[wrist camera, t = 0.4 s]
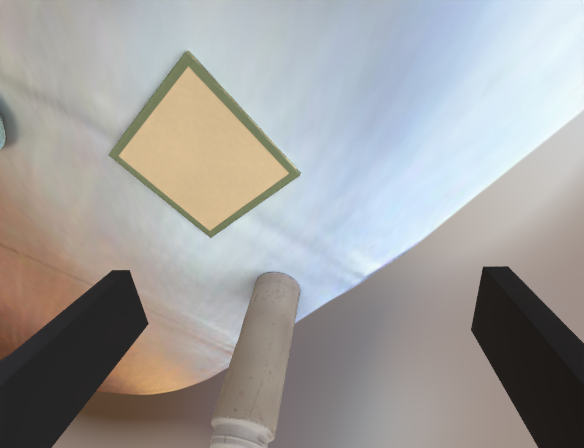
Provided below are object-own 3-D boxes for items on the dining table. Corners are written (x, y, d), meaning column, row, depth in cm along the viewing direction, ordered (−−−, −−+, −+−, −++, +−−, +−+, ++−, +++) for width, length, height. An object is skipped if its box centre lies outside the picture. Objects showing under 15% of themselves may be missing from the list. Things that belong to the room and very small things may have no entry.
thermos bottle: (266, 302, 57) (213, 496, 36) (249, 274, 53) (177, 477, 32) (306, 299, 55) (274, 506, 33) (291, 269, 50) (244, 487, 29)
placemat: (188, 49, 31) (185, 50, 31) (301, 172, 38) (300, 175, 38) (110, 153, 41) (108, 155, 41) (212, 235, 48) (210, 238, 48)
